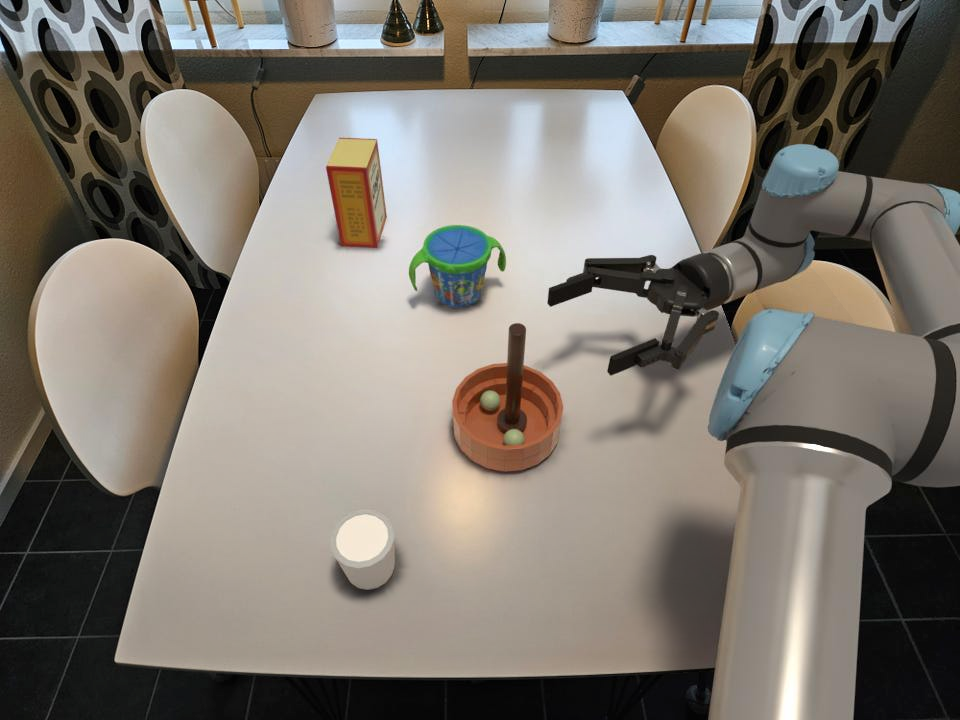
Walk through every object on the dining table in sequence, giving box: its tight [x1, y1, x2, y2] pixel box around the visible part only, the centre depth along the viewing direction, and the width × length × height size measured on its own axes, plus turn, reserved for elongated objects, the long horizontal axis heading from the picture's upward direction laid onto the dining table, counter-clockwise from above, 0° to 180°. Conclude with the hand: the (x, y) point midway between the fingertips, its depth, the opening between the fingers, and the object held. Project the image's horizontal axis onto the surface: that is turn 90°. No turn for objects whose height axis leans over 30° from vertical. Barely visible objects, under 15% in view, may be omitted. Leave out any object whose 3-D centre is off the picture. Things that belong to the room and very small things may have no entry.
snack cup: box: [408, 224, 507, 309], centre depth 102 cm, size 16×10×10 cm
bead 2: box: [503, 429, 525, 446], centre depth 84 cm, size 3×3×3 cm
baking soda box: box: [325, 137, 388, 249], centre depth 112 cm, size 10×6×16 cm
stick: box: [497, 322, 527, 434], centre depth 81 cm, size 4×4×18 cm
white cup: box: [329, 508, 396, 591], centre depth 72 cm, size 7×7×7 cm
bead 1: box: [480, 390, 501, 411], centre depth 88 cm, size 3×3×3 cm
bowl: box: [451, 362, 564, 472], centre depth 85 cm, size 14×14×6 cm
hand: (578, 330), depth 80 cm, fingers open, 13 cm apart
